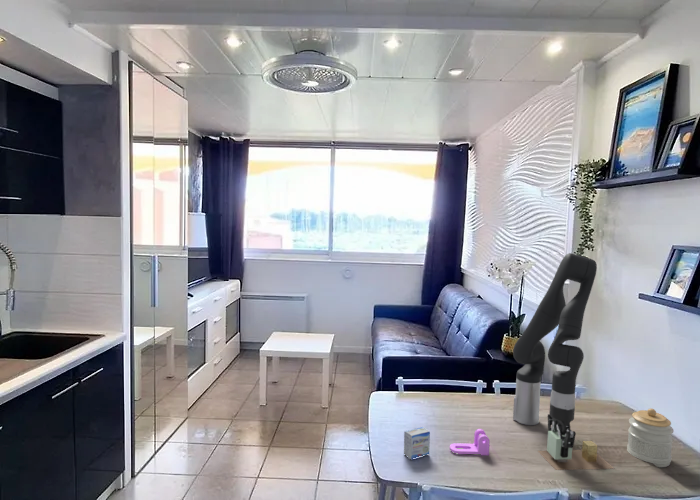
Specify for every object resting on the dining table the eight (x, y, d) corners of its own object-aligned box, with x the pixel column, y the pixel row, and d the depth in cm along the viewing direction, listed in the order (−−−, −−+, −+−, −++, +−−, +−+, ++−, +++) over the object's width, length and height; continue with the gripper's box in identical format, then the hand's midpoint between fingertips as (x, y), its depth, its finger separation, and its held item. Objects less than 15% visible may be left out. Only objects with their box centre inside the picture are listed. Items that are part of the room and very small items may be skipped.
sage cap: (555, 459, 152) (556, 439, 151) (546, 450, 157) (548, 430, 157) (571, 459, 152) (572, 438, 151) (562, 450, 158) (563, 430, 157)
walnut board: (555, 474, 148) (555, 469, 148) (537, 454, 160) (537, 450, 160) (614, 472, 150) (614, 468, 150) (592, 453, 162) (592, 449, 162)
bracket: (484, 447, 165) (484, 428, 164) (488, 455, 159) (489, 436, 159) (448, 446, 165) (448, 428, 164) (451, 455, 159) (452, 435, 159)
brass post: (587, 461, 154) (588, 445, 153) (581, 456, 157) (582, 441, 156) (596, 461, 154) (597, 445, 153) (590, 456, 157) (591, 440, 157)
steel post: (558, 462, 153) (559, 446, 152) (553, 457, 156) (554, 441, 156) (567, 462, 153) (568, 446, 153) (562, 457, 156) (563, 441, 156)
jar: (654, 471, 151) (658, 419, 150) (618, 452, 163) (621, 404, 162) (679, 463, 156) (683, 413, 155) (642, 445, 168) (645, 399, 167)
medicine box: (410, 461, 155) (411, 436, 154) (403, 454, 159) (404, 430, 158) (429, 455, 158) (430, 431, 158) (421, 449, 162) (422, 426, 162)
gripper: (541, 394, 160) (538, 441, 161) (562, 413, 146) (559, 464, 147) (562, 394, 160) (559, 441, 162) (585, 412, 146) (582, 463, 148)
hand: (559, 451), depth 155 cm, fingers closed on sage cap, 5 cm apart
